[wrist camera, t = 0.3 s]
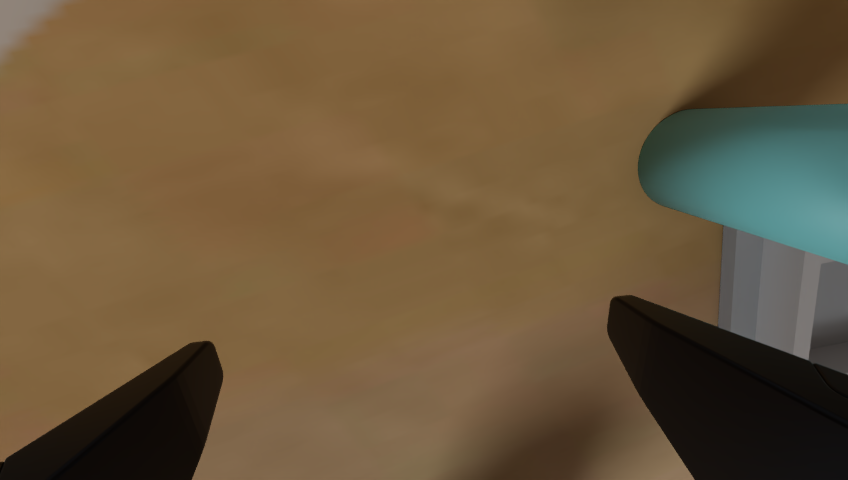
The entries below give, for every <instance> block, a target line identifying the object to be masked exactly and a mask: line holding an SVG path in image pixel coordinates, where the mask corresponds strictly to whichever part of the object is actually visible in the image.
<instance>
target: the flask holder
mask: <svg viewBox="0 0 848 480" xmlns="http://www.w3.org/2000/svg"><path fill="white" fill-rule="evenodd" d="M718 327H719V328H722V329H725V330H727V331H730V332H733V333H736V334H738V335H741V336H744V337H746V338H749V339H752V340H755V341H757V342H760V343H763V344H765V345H768V346H771V347H774V348H776V349H779V350H782V351H784V352H787V353H790V354H793V355H795V356H798V357H801V358H804V359H806V360H809V361H811V362H812V364H814V363H817V364H820V365H823V366H825V367H828V368H831V369H834V370H836V371H839V372H842V373H845V374H847V375H848V265H847V264H844V263H841V262H838V261H835V260H831V259H828V258H825V257H822V256H819V255H816V254H813V253H809V252H806V251H803V250H800V249H797V248H794V247H791V246H787V245H784V244H781V243H778V242H775V241H772V240H769V239H765V238H762V237H759V236H756V235H753V234H750V233H747V232H743V231H740V230H737V229H734V228H731V227H728V226H725V225H723V244H722V263H721V282H720V301H719V320H718Z"/></svg>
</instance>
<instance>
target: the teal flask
mask: <svg viewBox="0 0 848 480" xmlns="http://www.w3.org/2000/svg"><path fill="white" fill-rule="evenodd" d="M638 176H639V180H640V183H641V186H642V188H643V190H644V192H645V193H646V194H647V196H648V197H649V198H650V199H651V200H653V201H654V202H656V203H658V204H660V205H662V206H665V207H668V208H671V209H674V210H678V211H681V212H684V213H687V214H690V215H693V216H696V217H700V218H703V219H706V220H709V221H712V222H715V223H718V224H721V225H725V226H728V227H731V228H734V229H737V230H740V231H743V232H747V233H750V234H753V235H756V236H759V237H762V238H765V239H769V240H772V241H775V242H778V243H781V244H784V245H787V246H791V247H794V248H797V249H800V250H803V251H806V252H809V253H813V254H816V255H819V256H822V257H825V258H828V259H831V260H835V261H838V262H841V263H844V264H847V265H848V104H827V105H797V106H767V107H736V108H706V109H688V110H683V111H679V112H677V113H674V114H672V115H670V116H669V117H667V118H665V119H664V120H663V121H661V122H660V123H659V124H658V125H657V126H656V127H655V128H654V129H653V130H652V131H651V133H650V134H649V136H648V137H647V139H646V141H645V142H644V144H643V147H642V149H641V152H640V156H639V161H638Z"/></svg>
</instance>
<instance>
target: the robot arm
mask: <svg viewBox="0 0 848 480" xmlns="http://www.w3.org/2000/svg"><path fill="white" fill-rule="evenodd" d="M607 332H608V335H609V338H610V340H611V342H612V344H613V346H614V348H615V350H616V352H617V354H618V355H619V357H620V359H621V361H622V363H623V365H624V367H625V369H626V371H627V373H628V375H629V377H630V379H631V381H632V383H633V384H634V386H635V388H636V390H637V392H638V393H639V395H640V397H641V398H642V400H643V402H644V403H645V405H646V406H647V408H648V409H649V411H650V412H651V414H652V415H653V417H654V418H655V420H656V421H657V423H658V424H659V426H660V427H661V429H662V431H663V432H664V434H665V435H666V437H667V438H668V440H669V441H670V443H671V444H672V446H673V447H674V449H675V450H676V452H677V453H678V455H679V456H680V458H681V459H682V461H683V462H684V464H685V466H686V467H687V469H688V470H689V472H690V473H691V475H692V476H693V478H694V479H695V480H848V375H847V374H845V373H842V372H839V371H836V370H834V369H831V368H828V367H825V366H823V365H820V364H817V363H814V364H812V362H811V361H809V360H806V359H804V358H801V357H798V356H795V355H793V354H790V353H787V352H784V351H782V350H779V349H776V348H774V347H771V346H768V345H765V344H763V343H760V342H757V341H755V340H752V339H749V338H746V337H744V336H741V335H738V334H736V333H733V332H730V331H727V330H725V329H722V328H719V327H717V326H714V325H711V324H708V323H706V322H703V321H700V320H698V319H695V318H692V317H689V316H687V315H684V314H681V313H679V312H676V311H673V310H670V309H668V308H665V307H662V306H660V305H657V304H654V303H651V302H649V301H646V300H643V299H641V298H638V297H635V296H632V295H625V296H616V297H614V298H612V300H611V302H610V308H609V316H608V324H607ZM222 382H223V370H222V367H221V364H220V361H219V358H218V355H217V352H216V349H215V346H214V344H213V343H212V342H210V341H202V342H193V343H190V344H188V345H186V346H185V347H183V348H181V349H180V350H178V351H177V352H175V353H173V354H172V355H170V356H169V357H167V358H165V359H164V360H162V361H161V362H159V363H157V364H156V365H154V366H153V367H151V368H150V369H148V370H146V371H145V372H143V373H142V374H140V375H138V376H137V377H135V378H134V379H132V380H130V381H129V382H127V383H126V384H124V385H122V386H121V387H119V388H118V389H116V390H114V391H113V392H111V393H110V394H108V395H106V396H105V397H103V398H102V399H100V400H98V401H97V402H95V403H94V404H92V405H90V406H89V407H87V408H86V409H84V410H82V411H81V412H79V413H78V414H76V415H74V416H73V417H71V418H70V419H68V420H66V421H65V422H63V423H62V424H60V425H59V426H57V427H55V428H54V429H52V430H51V431H49V432H47V433H46V434H44V435H43V436H41V437H39V438H38V439H36V440H35V441H33V442H31V443H30V444H28V445H27V446H25V447H23V448H22V449H20V450H19V451H17V452H15V453H14V454H12V455H11V456H9V457H7V458H6V460H5V462H0V480H192V477H193V475H194V472H195V470H196V467H197V465H198V462H199V460H200V457H201V454H202V452H203V449H204V446H205V443H206V440H207V436H208V433H209V429H210V425H211V422H212V418H213V415H214V411H215V407H216V404H217V400H218V396H219V393H220V389H221V386H222Z"/></svg>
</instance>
